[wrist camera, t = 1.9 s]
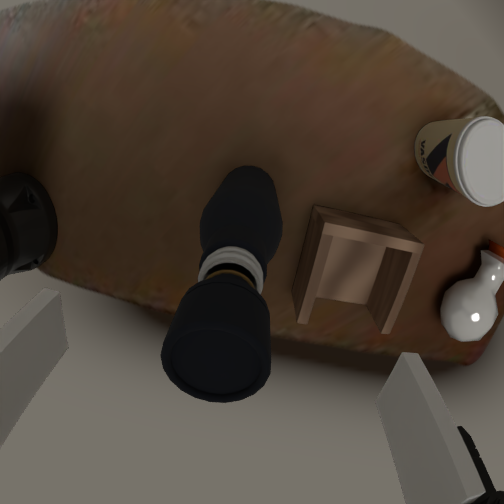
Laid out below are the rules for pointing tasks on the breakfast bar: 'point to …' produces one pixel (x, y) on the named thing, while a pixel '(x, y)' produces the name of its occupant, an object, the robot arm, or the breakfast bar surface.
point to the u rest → (355, 264)
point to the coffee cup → (465, 157)
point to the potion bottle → (474, 298)
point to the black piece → (228, 295)
